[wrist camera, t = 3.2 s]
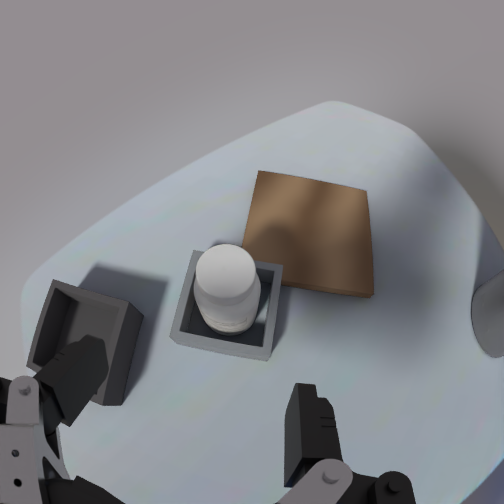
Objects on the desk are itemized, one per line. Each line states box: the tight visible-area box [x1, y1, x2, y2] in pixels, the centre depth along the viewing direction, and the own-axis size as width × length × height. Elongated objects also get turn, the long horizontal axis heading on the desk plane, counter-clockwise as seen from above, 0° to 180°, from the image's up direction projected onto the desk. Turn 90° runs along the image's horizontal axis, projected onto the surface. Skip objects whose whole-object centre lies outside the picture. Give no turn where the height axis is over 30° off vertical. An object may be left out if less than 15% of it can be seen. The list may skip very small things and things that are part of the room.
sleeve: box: [169, 250, 283, 361], centre depth 21 cm, size 7×7×2 cm
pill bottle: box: [194, 244, 261, 336], centre depth 19 cm, size 4×4×8 cm
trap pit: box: [26, 279, 143, 406], centre depth 18 cm, size 8×8×4 cm
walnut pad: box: [242, 171, 374, 298], centre depth 26 cm, size 12×12×1 cm
